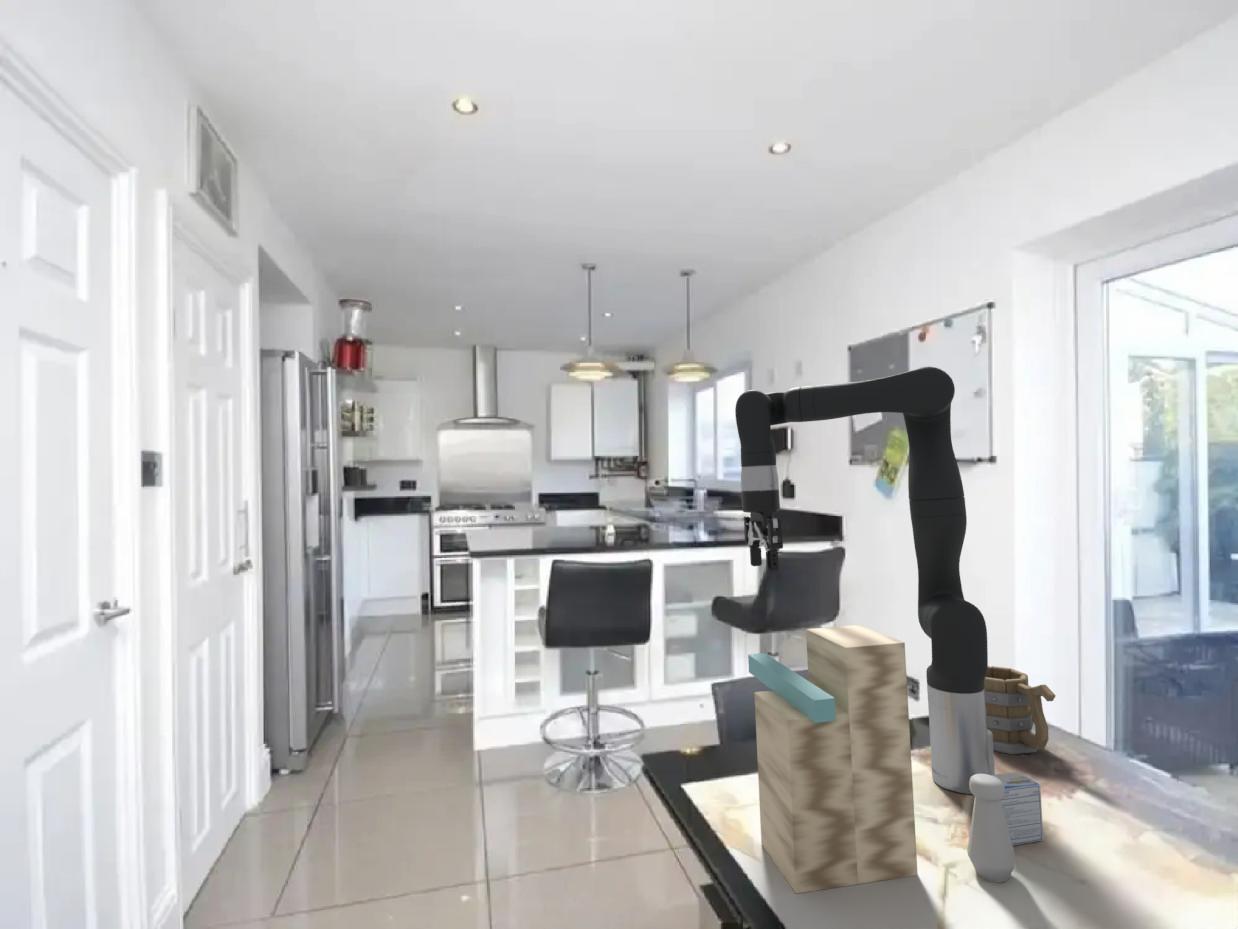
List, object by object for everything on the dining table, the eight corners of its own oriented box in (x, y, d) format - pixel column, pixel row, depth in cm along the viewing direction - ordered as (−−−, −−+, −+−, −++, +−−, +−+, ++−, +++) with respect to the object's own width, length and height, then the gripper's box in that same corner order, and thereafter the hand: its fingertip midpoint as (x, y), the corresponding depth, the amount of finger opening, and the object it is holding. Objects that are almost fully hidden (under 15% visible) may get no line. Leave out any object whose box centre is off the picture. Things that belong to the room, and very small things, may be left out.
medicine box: (1021, 826, 98) (1017, 770, 98) (1044, 842, 94) (1041, 783, 94) (976, 833, 97) (972, 776, 97) (998, 849, 92) (994, 789, 93)
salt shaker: (1024, 888, 83) (1018, 789, 84) (977, 885, 84) (971, 786, 85) (1006, 862, 89) (1000, 769, 89) (962, 859, 90) (957, 767, 91)
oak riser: (869, 829, 99) (858, 624, 100) (917, 874, 87) (904, 642, 88) (761, 844, 96) (751, 633, 97) (796, 893, 84) (784, 653, 85)
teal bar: (765, 670, 108) (764, 653, 108) (836, 720, 84) (834, 698, 84) (748, 672, 107) (748, 654, 107) (815, 723, 84) (813, 700, 84)
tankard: (953, 732, 135) (949, 662, 136) (1007, 727, 136) (1003, 657, 137) (1023, 773, 115) (1018, 691, 116) (1085, 767, 117) (1080, 686, 117)
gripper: (792, 487, 122) (796, 571, 121) (763, 488, 136) (767, 563, 135) (755, 489, 120) (760, 573, 120) (730, 489, 134) (734, 565, 134)
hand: (764, 568), depth 127 cm, fingers open, 8 cm apart
